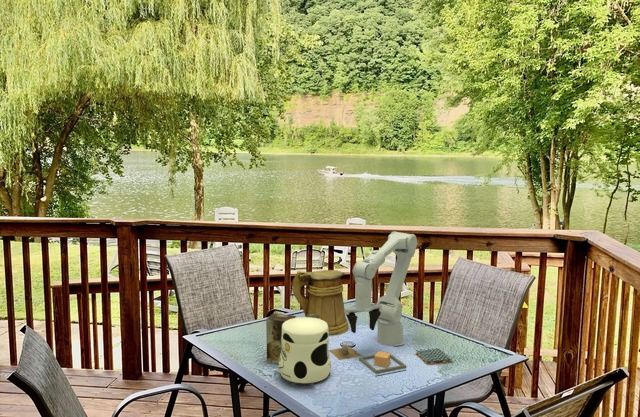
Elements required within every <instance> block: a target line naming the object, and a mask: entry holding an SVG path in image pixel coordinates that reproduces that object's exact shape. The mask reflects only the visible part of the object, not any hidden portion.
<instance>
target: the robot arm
mask: <svg viewBox="0 0 640 417" xmlns="http://www.w3.org/2000/svg"><path fill="white" fill-rule="evenodd" d="M418 244H419V243H418V239H417V236H416V235H415V234H414V233H405V232H398V231H396V230H395V231H391V233H390V234H389V235H388V237H387V241H385V243H384V244H383V245H382V246H381V247H380V248H379V249H377V250H372V251H371V253H370V254H368V256H366V257H365V258H364V259H363V260H361V261H357V262H356V263H355V264H354V266H353V268H352V274H353V276H354V282H355V303H354V305H351V306H349V307H348V306H347V307H344V313H345V316H346V319H347V321H348V324H349V325H350V326H349V327H350V332H351V333H352V334H356V332H357V331H356V330H357V321H358V316H357V315H356V314H357V313H358V314H359V313H364V312H365V313H366V312H367V313H368V314H369V315H368V317H369V323H368V324H369V329H370V330H371V331H375V327H376V324H377V333H376V334H377V335H376V336H377V340H376V341H377V343H378V344H380V345H385V346H390V345H391V346H393V347H400V346H403V345H404V343H403V342H404V341H403V340H404V326H403V323H402V321H401V320H402V315H403V314H402V312H403V308H404V307H403V303H401V301H400V299H399V298H400V296H401V292H402V289H403V286H404V282H405V279H406V276H407V273H408V271H409V268H410V265H411V260H412V258H413V257H414V256H415V254H416V253H415V252H416V249H417V248H418V247H417V246H418ZM391 253H394V255H396V257H397V258H396V261H395V265H394V267H393V270H392V273H391V277H390V280H389V282H388V286H387V289H386V292H385V294H384V295H383V296H380V297H379V298H378V300H377V302H376V303H372V294H373V293H372V288H373V286H372V285H373V282H372V281H373V279H374V277H375V276H376V272H378V269H379V268H380V267H381V266H382V265H383V264H384V263H385V262H386V258H387V257H388V256H390V255H391Z"/></svg>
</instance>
